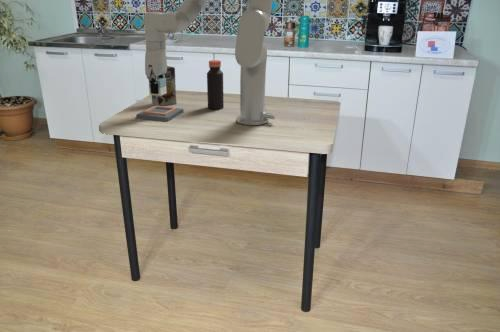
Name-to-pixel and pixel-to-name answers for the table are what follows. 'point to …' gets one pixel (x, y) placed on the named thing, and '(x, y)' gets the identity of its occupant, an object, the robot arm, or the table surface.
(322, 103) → the table surface
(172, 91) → the coffee box
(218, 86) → the bottle
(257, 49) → the robot arm
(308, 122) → the table surface
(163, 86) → the brick stack
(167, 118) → the slate plate
